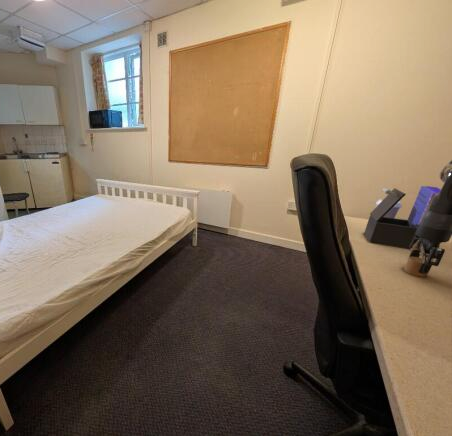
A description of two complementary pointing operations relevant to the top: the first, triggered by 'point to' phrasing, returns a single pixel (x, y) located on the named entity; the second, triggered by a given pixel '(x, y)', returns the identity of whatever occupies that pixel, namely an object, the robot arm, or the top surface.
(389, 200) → the lid
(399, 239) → the dark hinged box
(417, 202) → the cereal box
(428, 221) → the robot arm
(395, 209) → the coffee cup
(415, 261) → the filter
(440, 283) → the top surface
